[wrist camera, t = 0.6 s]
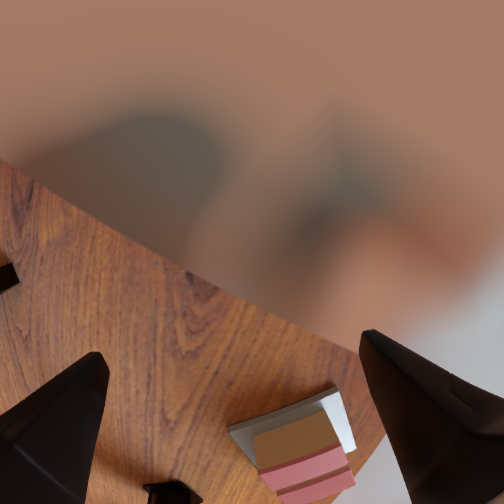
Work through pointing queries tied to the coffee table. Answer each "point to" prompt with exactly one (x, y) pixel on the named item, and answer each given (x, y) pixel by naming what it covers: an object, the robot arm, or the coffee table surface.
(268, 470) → the cake slice
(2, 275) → the knife
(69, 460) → the robot arm
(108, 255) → the coffee table surface
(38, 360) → the coffee table surface
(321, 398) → the cake plate
